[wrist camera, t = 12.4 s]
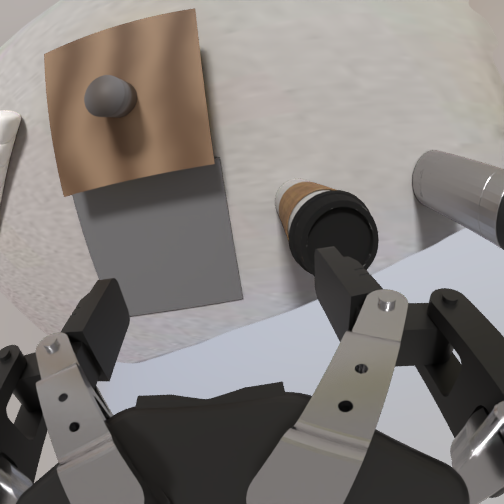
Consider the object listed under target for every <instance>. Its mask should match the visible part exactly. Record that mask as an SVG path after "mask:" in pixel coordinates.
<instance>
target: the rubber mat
mask: <svg viewBox="0 0 504 504" xmlns="http://www.w3.org/2000/svg"><path fill="white" fill-rule="evenodd" d="M214 163H215V164H212V165H206V166H200V167H194V168H188V169H182V170H177V171H172V172H166V173H161V174H156V175H151V176H147V177H142V178H137V179H133V180H128V181H124V182H120V183H115V184H111V185H107V186H103V187H99V188H95V189H91V190H87V191H84V192H80V193H76V194H73V195H72V196H73V199H74V203H75V207H76V210H77V214H78V217H79V221H80V224H81V228H82V231H83V234H84V237H85V240H86V243H87V246H88V249H89V252H90V255H91V258H92V261H93V264H94V267H95V269H96V272H97V275H98V278H99V280H103V279H110V278H115V279H116V280H117V281H118V283H119V286H120V289H121V292H122V294H123V297H124V300H125V303H126V305H127V308H128V311H129V316H135V315H142V314H149V313H156V312H163V311H170V310H177V309H184V308H190V307H197V306H203V305H209V304H215V303H221V302H227V301H233V300H239V299H243V296H242V290H241V285H240V279H239V273H238V267H237V261H236V255H235V250H234V244H233V238H232V232H231V226H230V220H229V213H228V207H227V201H226V195H225V189H224V182H223V176H222V170H221V163H220V157H218V158H214Z"/></svg>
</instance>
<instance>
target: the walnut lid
mask: <svg viewBox="0 0 504 504" xmlns="http://www.w3.org/2000/svg"><path fill="white" fill-rule="evenodd" d="M44 60H45V81H46V94H47V104H48V113H49V121H50V128H51V135H52V141H53V147H54V152H55V158H56V163H57V168H58V173H59V177H60V182H61V186H62V190H63V195H64V197H66V196H69V195H73V194H76V193H80V192H84V191H87V190H91V189H95V188H99V187H103V186H107V185H111V184H115V183H120V182H124V181H128V180H133V179H137V178H142V177H147V176H151V175H156V174H161V173H166V172H172V171H177V170H182V169H188V168H194V167H200V166H206V165H212V164H215V163H214V156H213V149H212V141H211V134H210V127H209V119H208V112H207V104H206V97H205V89H204V81H203V73H202V65H201V56H200V48H199V39H198V30H197V21H196V12H195V9H189V10H183V11H177V12H172V13H167V14H162V15H157V16H153V17H148V18H144V19H140V20H136V21H133V22H129V23H126V24H122V25H119V26H115V27H112V28H109V29H106V30H103V31H100V32H97V33H94V34H91V35H89V36H86V37H83V38H81V39H78V40H76V41H73V42H71V43H68V44H66V45H63V46H61V47H59V48H57V49H54V50H52V51H50V52H48V53H46V54H44Z"/></svg>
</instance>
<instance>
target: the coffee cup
mask: <svg viewBox="0 0 504 504" xmlns="http://www.w3.org/2000/svg"><path fill="white" fill-rule="evenodd" d="M275 206H276V209H277V212H278V214H279V217H280V219H281V222H282V225H283V227H284V230H285V233H286V235H287V238H288V241H289V246H290V250H291V253H292V256H293V257H294V259H295V260H296V262H297V263H298V264H299V265H300V266H301V267H302V268H303V269H304V270H306V271H307V272H309V273H311V274H313V275H314V276H315V260H314V254H315V250H316V249H320V248H326V247H333V246H334V247H335V248H336V249H337V250H338V251H339V252H340V254H341V255H342V256H343V257H347V256H349V257H351V258H353V259H355V260H357V261H358V262H359V263H360V264H361V265H362V266H363V267H364V269H366V270H367V269H368V268H369V266H370V265H371V263H372V262H373V260H374V258H375V256H376V253H377V249H378V231H377V227H376V224H375V221H374V219H373V217H372V216H371V214H370V212H369V210H368V208H367V207H366V206H365V204H364V203H363V202H362V201H361V200H360V199H359V198H357V197H356V196H355V195H353V194H351V193H349V192H345V191H341V190H335V189H332V188H329V187H326V186H323V185H320V184H317V183H313V182H310V181H307V180H304V179H292V180H289V181H287V182H286V183H284V184H283V185H282V186H281V187H280V188H279V190H278V192H277V194H276V198H275Z"/></svg>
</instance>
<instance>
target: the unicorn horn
mask: <svg viewBox="0 0 504 504" xmlns="http://www.w3.org/2000/svg"><path fill="white" fill-rule="evenodd" d="M20 121H21V116H20V114H18V113H16V112H13V111H6V110H1V111H0V206H1V199H2V194H3V188H4V183H5V182H4V181H5V178H6V174H7V169H8V164H9V158H10V156H11V152H12V148H13V145H14V141H15V138H16V134H17V131H18V128H19V125H20Z"/></svg>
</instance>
